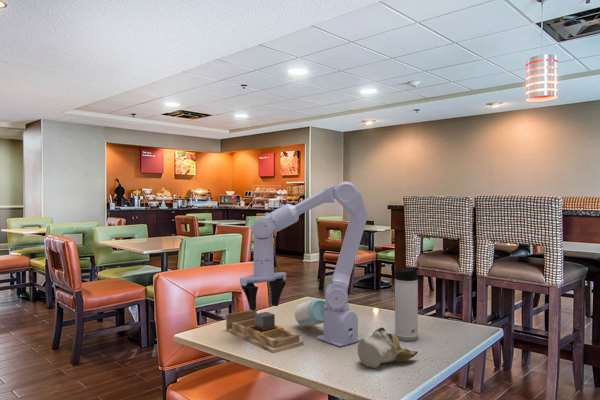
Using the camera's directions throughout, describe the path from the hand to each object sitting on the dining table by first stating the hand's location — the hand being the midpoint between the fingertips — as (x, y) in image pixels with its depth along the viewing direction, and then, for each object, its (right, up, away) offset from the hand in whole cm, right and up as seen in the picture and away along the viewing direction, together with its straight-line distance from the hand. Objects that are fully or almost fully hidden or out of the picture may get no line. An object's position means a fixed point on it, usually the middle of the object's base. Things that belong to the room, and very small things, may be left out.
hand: (263, 307), depth 123 cm
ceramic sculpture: (+30, -9, -18) cm, 36 cm away
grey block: (0, -8, 0) cm, 8 cm away
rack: (0, -9, 0) cm, 9 cm away
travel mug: (+40, -9, -1) cm, 41 cm away
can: (+11, -5, +12) cm, 17 cm away
